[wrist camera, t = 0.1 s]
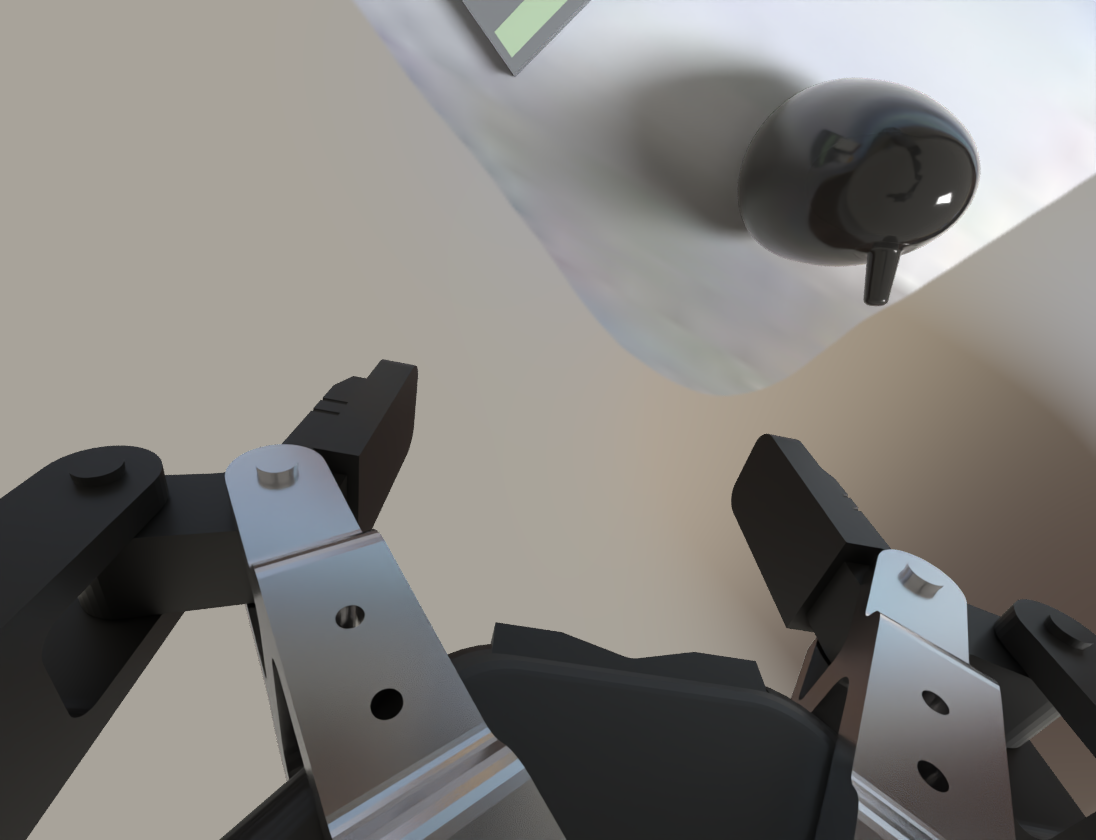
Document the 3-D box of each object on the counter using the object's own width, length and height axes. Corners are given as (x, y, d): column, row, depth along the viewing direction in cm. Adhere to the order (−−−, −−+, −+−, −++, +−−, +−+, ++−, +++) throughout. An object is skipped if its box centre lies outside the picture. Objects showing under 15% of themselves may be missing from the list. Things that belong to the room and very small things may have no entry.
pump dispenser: (704, 243, 37) (785, 304, 24) (745, 75, 32) (877, 35, 19) (837, 257, 37) (988, 325, 24) (899, 94, 32) (1135, 67, 19)
